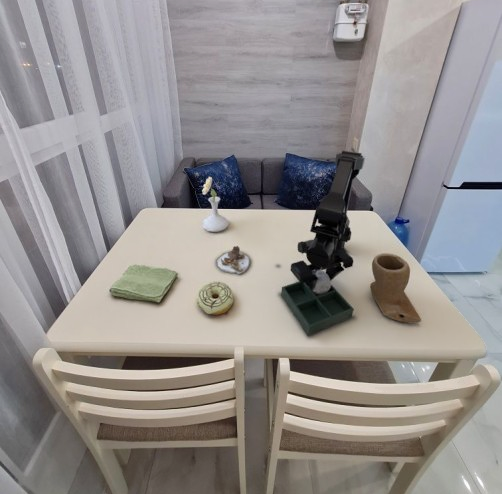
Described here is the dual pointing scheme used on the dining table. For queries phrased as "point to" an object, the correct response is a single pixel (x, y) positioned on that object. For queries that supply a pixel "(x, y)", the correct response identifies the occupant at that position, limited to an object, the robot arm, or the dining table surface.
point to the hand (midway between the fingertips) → (318, 285)
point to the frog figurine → (233, 261)
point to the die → (322, 283)
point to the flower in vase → (213, 211)
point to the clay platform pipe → (392, 287)
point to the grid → (316, 306)
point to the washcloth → (144, 283)
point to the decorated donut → (217, 304)
